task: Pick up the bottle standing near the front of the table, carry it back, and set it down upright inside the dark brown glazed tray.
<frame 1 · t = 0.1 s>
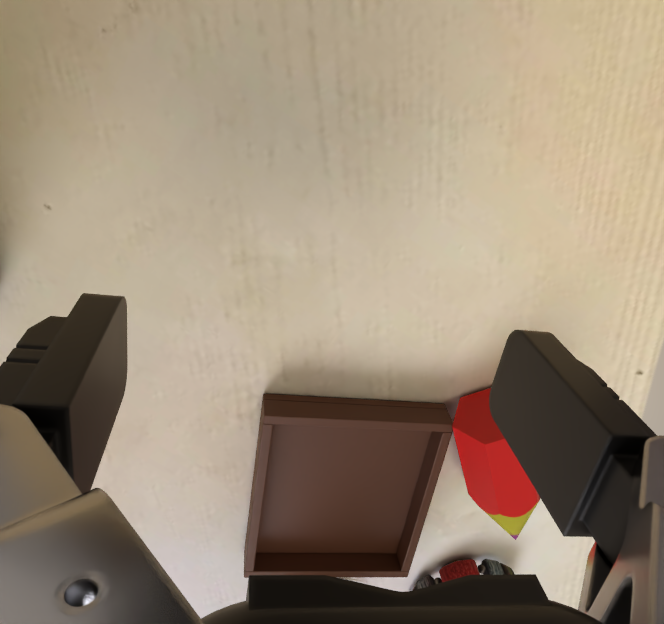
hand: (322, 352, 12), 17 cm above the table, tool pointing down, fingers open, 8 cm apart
pencil: (491, 456, 37), on the table, touching tray
tray: (339, 481, 36), on the table
necklace: (463, 598, 44), on the table
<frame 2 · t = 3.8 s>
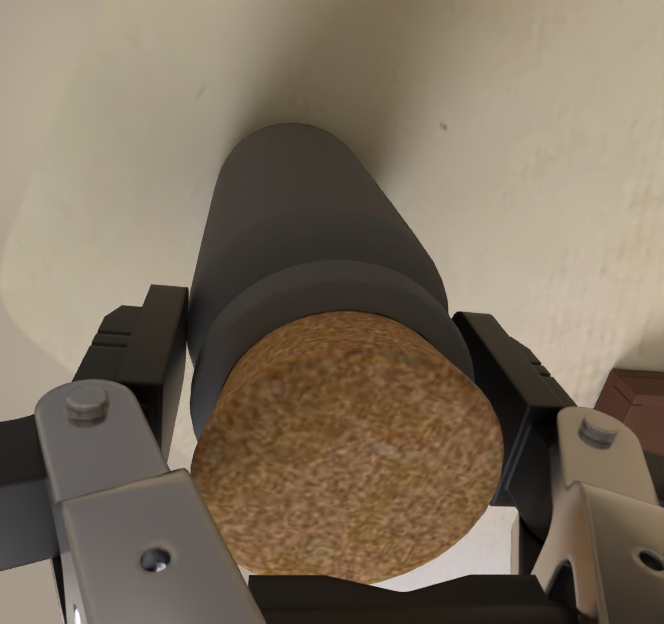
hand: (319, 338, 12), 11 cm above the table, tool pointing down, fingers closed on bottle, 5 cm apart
bottle: (292, 199, 22), on the table, touching gripper
tray: (657, 475, 31), on the table
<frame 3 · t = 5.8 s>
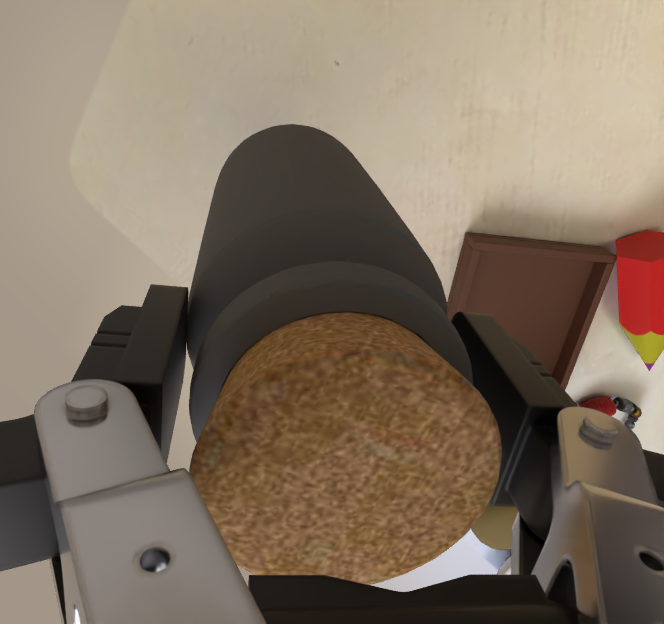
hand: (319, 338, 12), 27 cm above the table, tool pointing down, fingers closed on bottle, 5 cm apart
bottle: (291, 200, 22), point 16 cm above the table, touching gripper
pencil: (631, 299, 46), on the table, touching tray
tray: (510, 317, 45), on the table
pepper shaker: (461, 433, 50), on the table
necklace: (592, 438, 52), on the table
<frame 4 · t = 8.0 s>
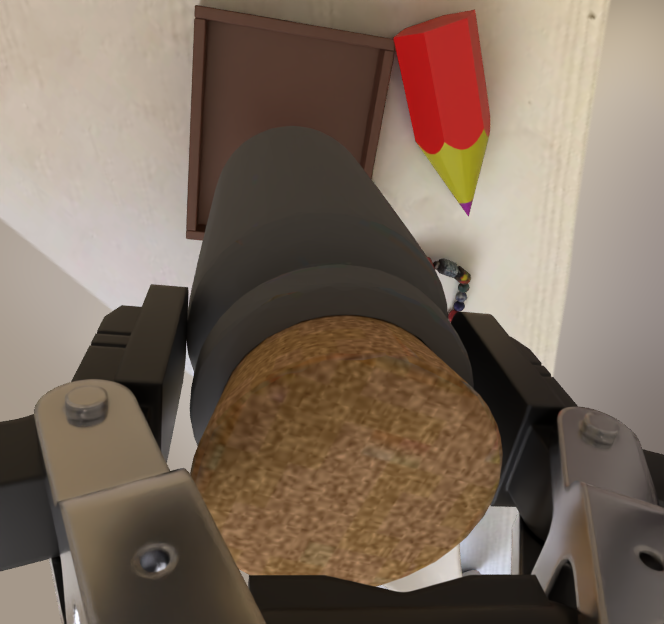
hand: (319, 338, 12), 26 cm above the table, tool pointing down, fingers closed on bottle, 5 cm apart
bottle: (292, 201, 22), point 15 cm above the table, touching gripper
spoon rest: (405, 513, 53), on the table
pencil: (441, 121, 36), on the table, touching tray
tray: (283, 138, 35), on the table
necklace: (421, 318, 43), on the table
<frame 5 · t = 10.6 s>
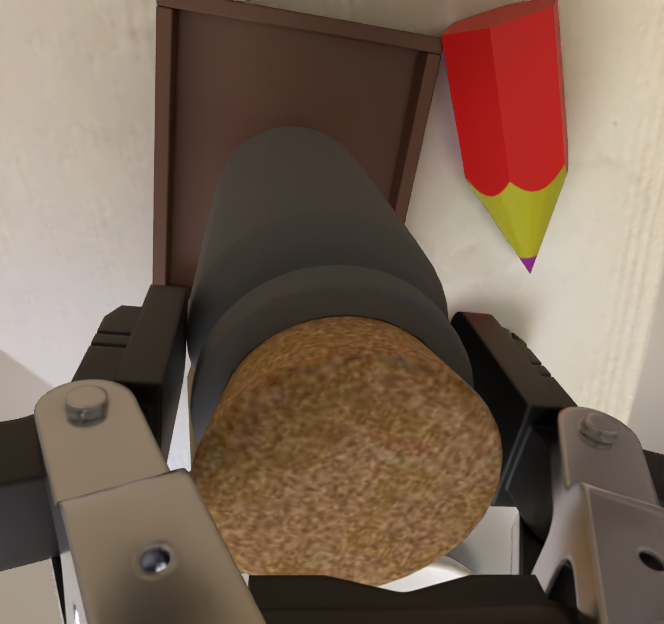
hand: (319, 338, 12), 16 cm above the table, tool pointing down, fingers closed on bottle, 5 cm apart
bottle: (292, 201, 22), point 5 cm above the table, touching gripper
spoon rest: (431, 614, 43), on the table
pencil: (496, 148, 27), on the table, touching tray
tray: (285, 172, 26), on the table
pepper shaker: (242, 381, 31), on the table
when the fingers open (11 cm above the table, at t = 12.6 s): bottle stays where it is, resting on tray.
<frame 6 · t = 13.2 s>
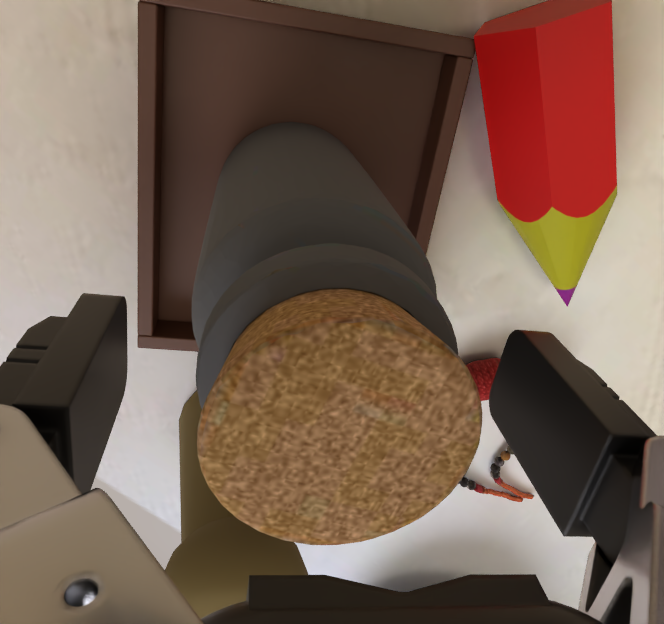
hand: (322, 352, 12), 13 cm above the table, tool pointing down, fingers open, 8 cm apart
bottle: (291, 195, 22), resting on tray
pencil: (530, 165, 24), on the table, touching tray
tray: (289, 192, 23), on the table
pepper shaker: (241, 423, 28), on the table
necklace: (482, 434, 30), on the table
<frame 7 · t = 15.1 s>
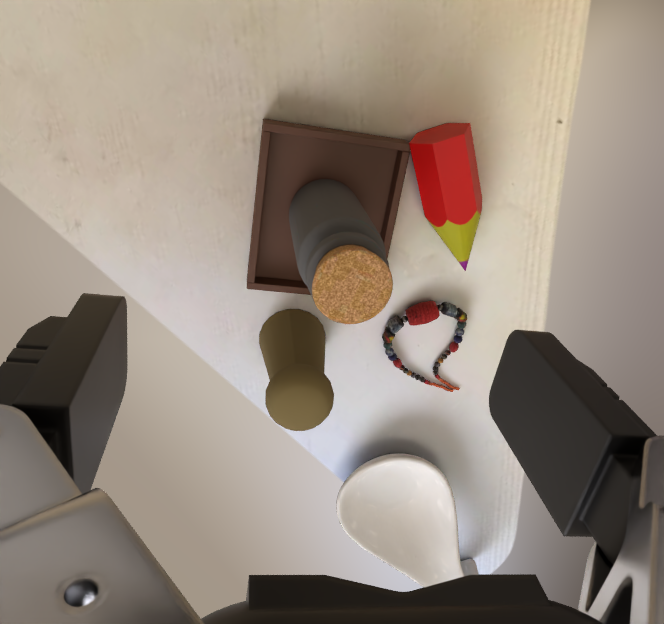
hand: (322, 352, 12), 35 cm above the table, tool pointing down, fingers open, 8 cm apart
bottle: (324, 213, 46), resting on tray
spoon rest: (412, 509, 63), on the table
pencil: (444, 198, 47), on the table, touching tray
tray: (323, 212, 46), on the table
pepper shaker: (292, 337, 51), on the table
necklace: (427, 348, 53), on the table
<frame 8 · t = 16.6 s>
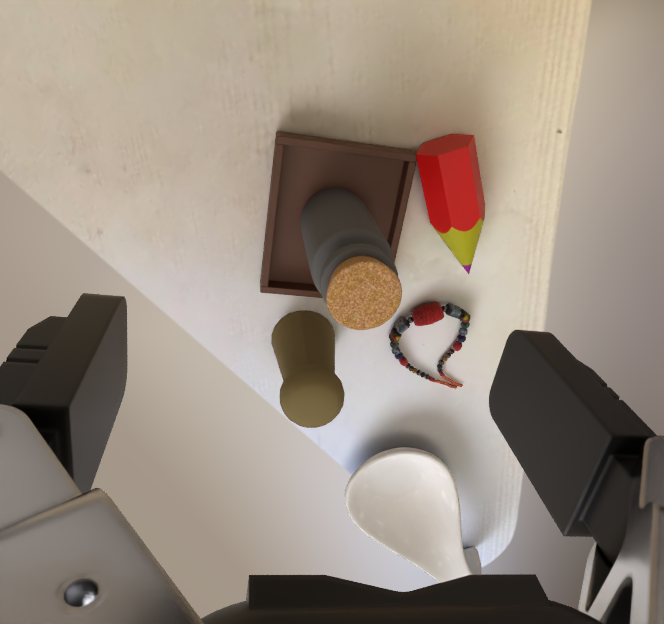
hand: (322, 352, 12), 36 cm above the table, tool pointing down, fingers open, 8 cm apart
bottle: (333, 220, 48), resting on tray
spoon rest: (417, 500, 65), on the table
pencil: (448, 204, 49), on the table, touching tray
tray: (332, 218, 48), on the table
pepper shaker: (303, 337, 53), on the table
necklace: (432, 347, 56), on the table
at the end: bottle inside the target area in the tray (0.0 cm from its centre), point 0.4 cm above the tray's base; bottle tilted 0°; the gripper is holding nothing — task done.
